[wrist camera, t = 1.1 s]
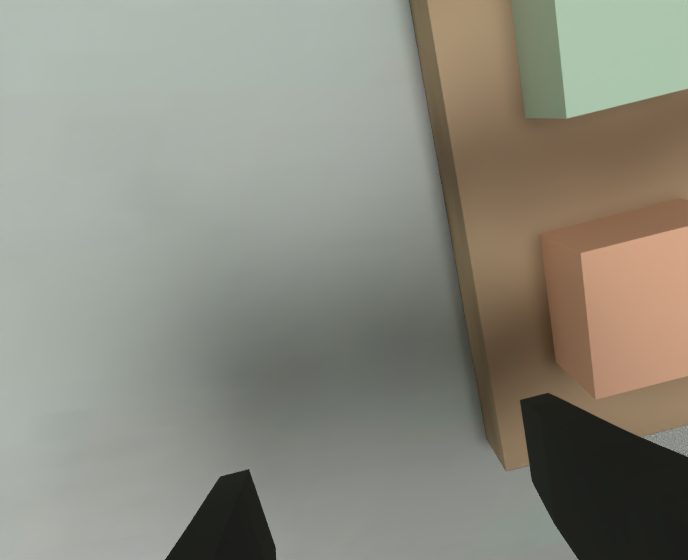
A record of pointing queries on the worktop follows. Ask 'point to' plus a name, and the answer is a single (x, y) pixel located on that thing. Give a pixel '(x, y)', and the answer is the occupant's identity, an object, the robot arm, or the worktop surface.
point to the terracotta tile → (620, 298)
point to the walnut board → (534, 209)
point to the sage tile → (598, 53)
